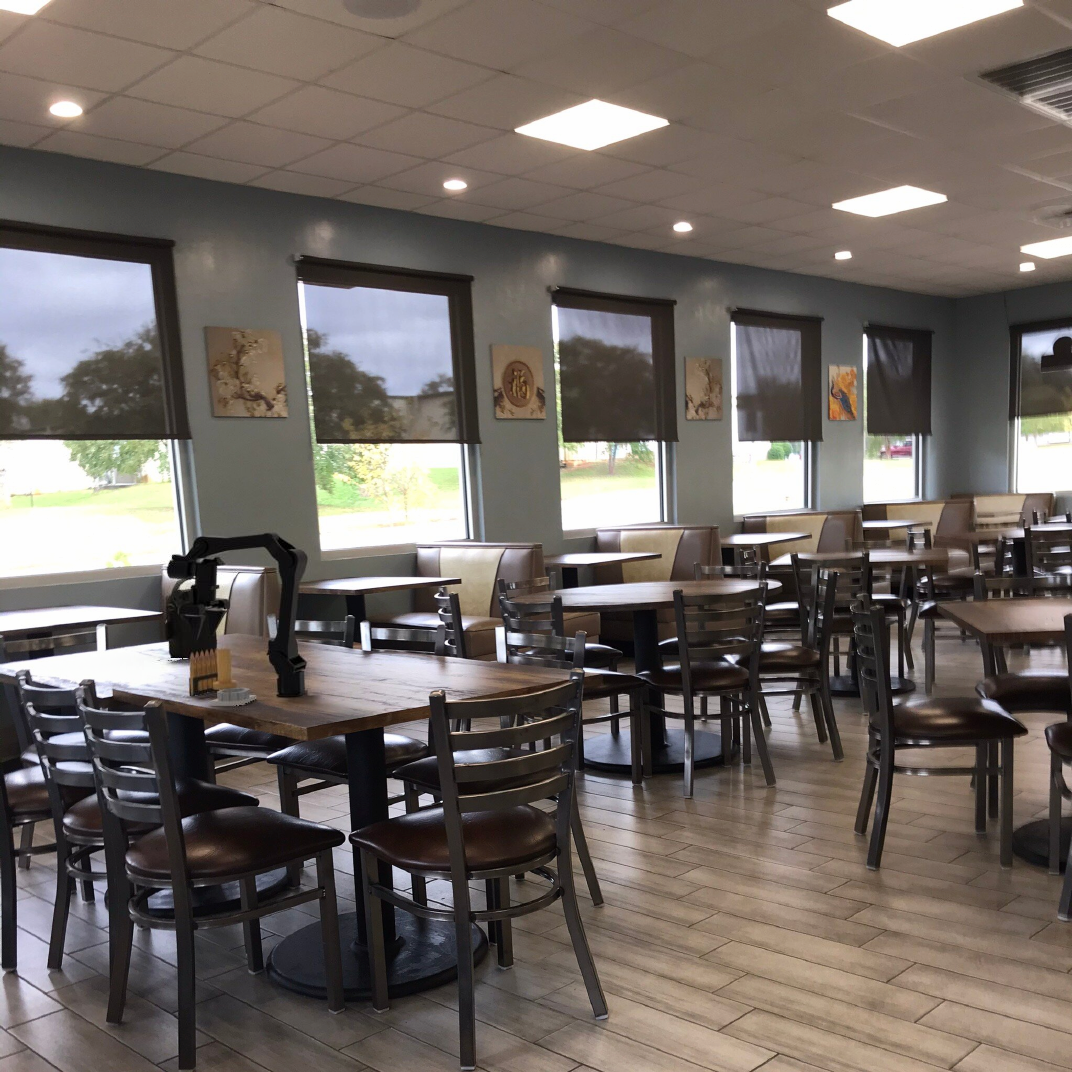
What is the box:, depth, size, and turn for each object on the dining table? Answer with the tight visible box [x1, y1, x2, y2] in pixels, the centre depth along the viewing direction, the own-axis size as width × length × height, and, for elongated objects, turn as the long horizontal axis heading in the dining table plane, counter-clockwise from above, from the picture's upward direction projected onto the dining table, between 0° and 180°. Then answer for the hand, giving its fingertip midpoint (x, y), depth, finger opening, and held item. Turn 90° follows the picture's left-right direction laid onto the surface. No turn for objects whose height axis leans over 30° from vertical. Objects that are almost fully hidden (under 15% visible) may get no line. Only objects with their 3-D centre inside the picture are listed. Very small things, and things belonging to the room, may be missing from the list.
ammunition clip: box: [188, 647, 218, 697], centre depth 290 cm, size 11×2×12 cm, turn 150°
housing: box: [209, 687, 257, 707], centre depth 273 cm, size 9×9×3 cm
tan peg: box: [213, 647, 239, 690], centre depth 282 cm, size 6×6×13 cm
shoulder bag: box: [157, 576, 218, 662], centre depth 365 cm, size 23×9×28 cm, turn 151°
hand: (203, 637), depth 286 cm, fingers open, 9 cm apart
